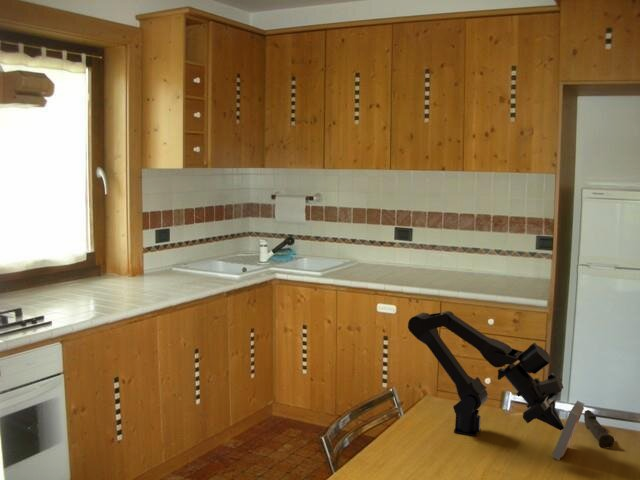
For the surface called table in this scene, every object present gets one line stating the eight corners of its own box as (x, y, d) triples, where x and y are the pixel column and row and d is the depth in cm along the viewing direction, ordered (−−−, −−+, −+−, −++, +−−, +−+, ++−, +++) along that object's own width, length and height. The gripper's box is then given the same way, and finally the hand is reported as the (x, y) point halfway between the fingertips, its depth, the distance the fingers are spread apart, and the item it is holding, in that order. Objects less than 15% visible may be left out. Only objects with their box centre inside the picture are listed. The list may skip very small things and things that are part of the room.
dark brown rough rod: (613, 449, 188) (615, 433, 187) (598, 448, 188) (600, 432, 188) (594, 423, 206) (595, 408, 206) (581, 422, 207) (582, 407, 206)
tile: (551, 456, 180) (569, 411, 177) (559, 443, 189) (577, 400, 185) (560, 461, 179) (578, 416, 176) (568, 447, 188) (585, 404, 184)
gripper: (537, 375, 176) (579, 424, 172) (553, 358, 192) (591, 402, 187) (506, 398, 181) (545, 447, 177) (524, 379, 197) (561, 423, 192)
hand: (562, 429), depth 183 cm, fingers closed
